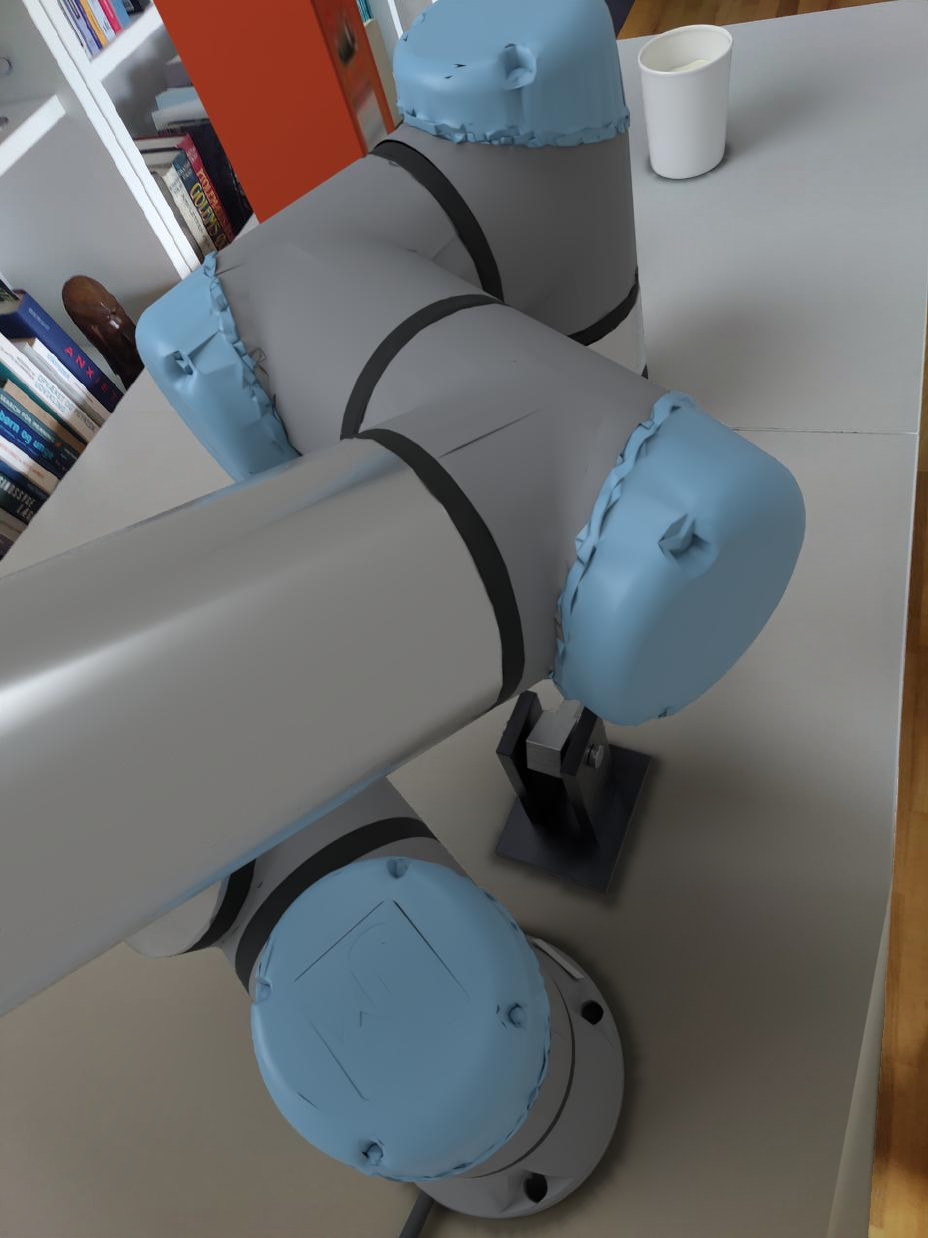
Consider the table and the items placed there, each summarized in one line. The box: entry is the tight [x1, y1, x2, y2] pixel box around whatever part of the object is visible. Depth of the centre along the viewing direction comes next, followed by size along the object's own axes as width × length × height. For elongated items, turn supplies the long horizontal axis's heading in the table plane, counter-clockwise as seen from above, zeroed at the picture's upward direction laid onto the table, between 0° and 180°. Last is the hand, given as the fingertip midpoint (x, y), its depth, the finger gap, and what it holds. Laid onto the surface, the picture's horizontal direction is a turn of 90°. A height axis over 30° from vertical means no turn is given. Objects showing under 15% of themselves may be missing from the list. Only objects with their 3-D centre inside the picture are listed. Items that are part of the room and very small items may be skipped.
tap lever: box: [526, 698, 584, 778], centre depth 55 cm, size 13×6×2 cm, turn 156°
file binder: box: [152, 0, 397, 225], centre depth 92 cm, size 8×17×32 cm, turn 70°
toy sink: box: [363, 18, 403, 128], centre depth 116 cm, size 8×7×13 cm
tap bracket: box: [494, 689, 653, 895], centre depth 55 cm, size 10×8×13 cm
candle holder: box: [637, 24, 734, 180], centre depth 95 cm, size 10×10×12 cm
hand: (611, 618), depth 57 cm, fingers open, 13 cm apart
